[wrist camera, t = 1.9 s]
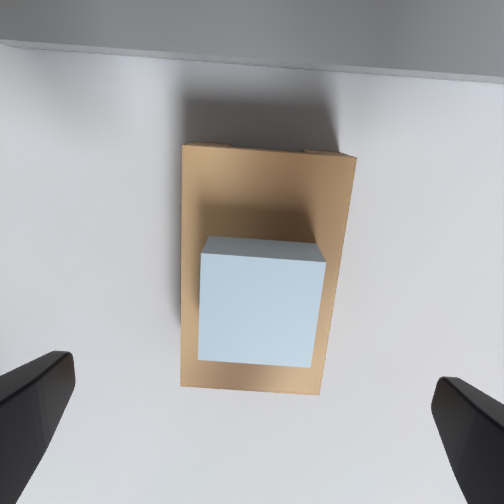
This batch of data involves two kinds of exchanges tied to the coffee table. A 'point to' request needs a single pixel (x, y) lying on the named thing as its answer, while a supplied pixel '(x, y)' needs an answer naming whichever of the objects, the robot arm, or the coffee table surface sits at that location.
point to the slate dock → (276, 33)
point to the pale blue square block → (259, 301)
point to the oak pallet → (260, 227)
